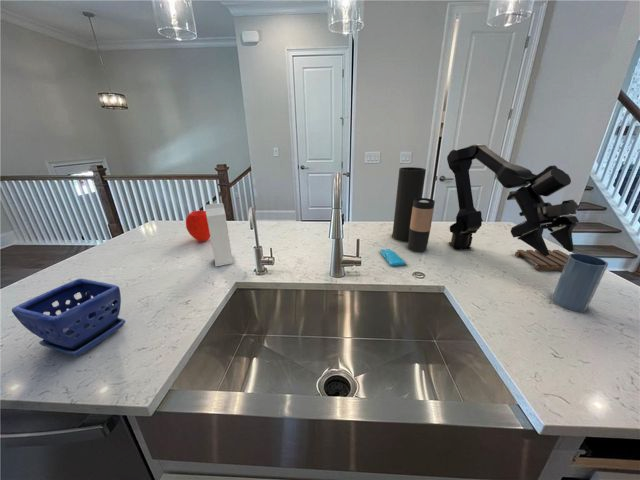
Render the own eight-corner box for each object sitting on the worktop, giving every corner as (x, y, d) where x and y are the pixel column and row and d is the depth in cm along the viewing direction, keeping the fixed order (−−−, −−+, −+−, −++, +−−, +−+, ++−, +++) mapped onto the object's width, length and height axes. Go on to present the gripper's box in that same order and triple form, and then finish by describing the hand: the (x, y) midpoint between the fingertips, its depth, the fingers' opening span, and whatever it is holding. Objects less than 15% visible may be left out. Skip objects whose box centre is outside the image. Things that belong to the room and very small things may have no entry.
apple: (223, 238, 118) (218, 209, 113) (200, 247, 109) (193, 216, 103) (207, 233, 124) (201, 206, 118) (183, 241, 115) (177, 212, 109)
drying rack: (538, 270, 88) (540, 264, 87) (514, 255, 99) (516, 249, 98) (586, 270, 87) (589, 264, 86) (557, 255, 98) (559, 249, 97)
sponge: (394, 249, 103) (380, 248, 102) (406, 263, 92) (391, 262, 91) (393, 252, 103) (379, 251, 102) (405, 266, 92) (390, 266, 91)
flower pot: (96, 315, 68) (79, 276, 64) (134, 324, 65) (120, 284, 60) (33, 353, 57) (7, 308, 52) (75, 367, 53) (51, 320, 49)
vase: (387, 235, 119) (394, 168, 107) (405, 232, 122) (413, 166, 111) (402, 243, 110) (410, 171, 99) (420, 239, 114) (431, 169, 102)
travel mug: (404, 245, 108) (410, 198, 101) (421, 244, 109) (429, 197, 101) (411, 252, 101) (418, 203, 94) (430, 252, 102) (439, 202, 94)
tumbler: (566, 311, 68) (586, 266, 63) (545, 295, 75) (561, 253, 69) (594, 311, 68) (616, 266, 63) (570, 295, 74) (589, 253, 69)
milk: (233, 263, 95) (224, 205, 86) (215, 266, 93) (204, 207, 84) (231, 256, 100) (222, 200, 91) (214, 259, 98) (204, 202, 89)
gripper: (533, 192, 68) (565, 246, 62) (583, 187, 73) (617, 238, 67) (498, 212, 78) (524, 261, 72) (544, 207, 83) (571, 253, 77)
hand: (559, 253), depth 72 cm, fingers open, 9 cm apart
